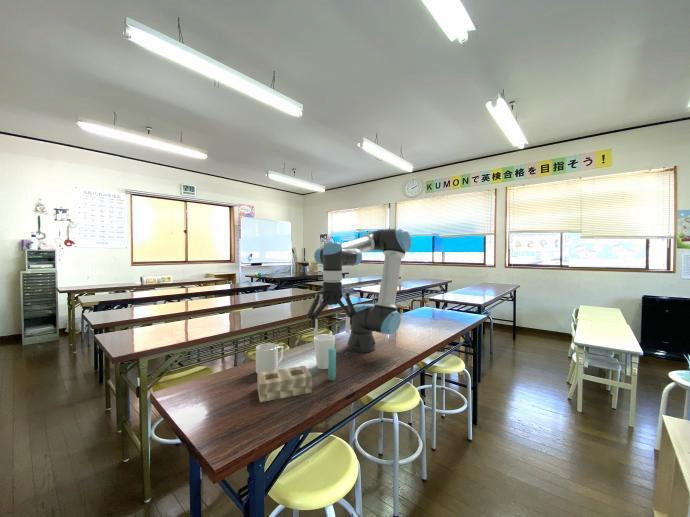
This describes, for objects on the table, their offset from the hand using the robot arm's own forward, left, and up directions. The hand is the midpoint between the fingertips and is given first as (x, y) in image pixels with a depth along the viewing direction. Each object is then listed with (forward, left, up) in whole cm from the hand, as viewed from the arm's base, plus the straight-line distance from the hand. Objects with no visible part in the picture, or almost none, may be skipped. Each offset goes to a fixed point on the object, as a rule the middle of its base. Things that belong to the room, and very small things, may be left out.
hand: (331, 334), depth 112 cm
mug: (+22, -16, -18) cm, 33 cm away
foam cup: (-1, -13, -18) cm, 22 cm away
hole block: (+19, +2, -18) cm, 27 cm away
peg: (0, 0, -18) cm, 18 cm away
